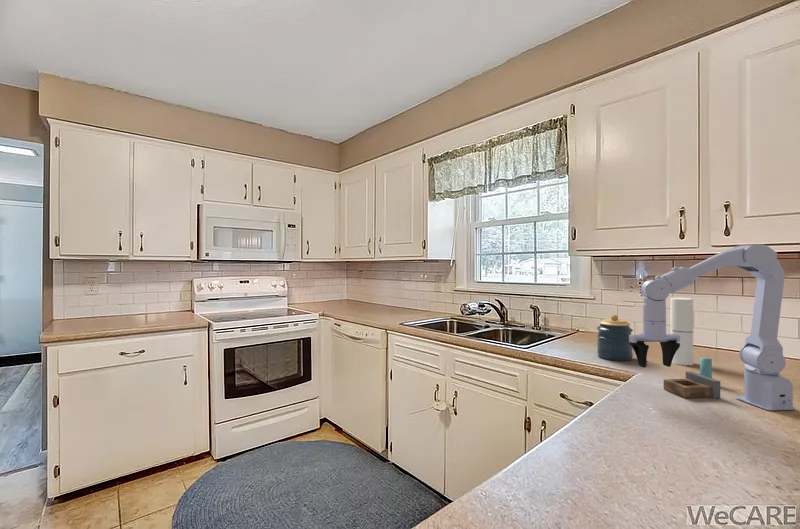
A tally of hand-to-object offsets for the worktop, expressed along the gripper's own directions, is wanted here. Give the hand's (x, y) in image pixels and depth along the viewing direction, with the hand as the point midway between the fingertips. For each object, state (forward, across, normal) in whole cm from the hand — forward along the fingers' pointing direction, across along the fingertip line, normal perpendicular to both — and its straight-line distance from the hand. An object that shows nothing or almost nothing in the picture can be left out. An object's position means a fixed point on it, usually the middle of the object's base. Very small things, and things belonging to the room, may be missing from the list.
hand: (654, 366), depth 115 cm
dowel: (+8, -24, -9) cm, 27 cm away
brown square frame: (+8, -10, 0) cm, 13 cm away
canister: (+9, -16, -44) cm, 47 cm away
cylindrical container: (+9, -36, -33) cm, 49 cm away
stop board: (+8, -15, 0) cm, 17 cm away
